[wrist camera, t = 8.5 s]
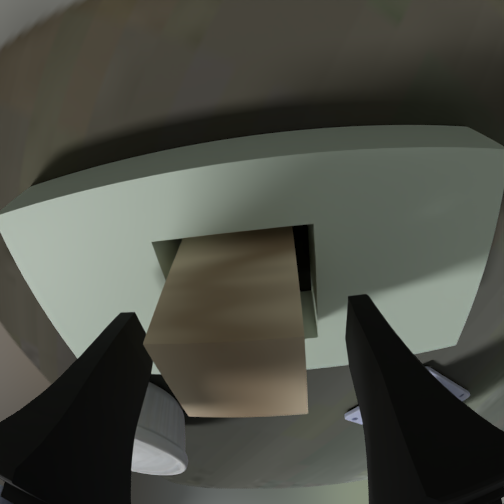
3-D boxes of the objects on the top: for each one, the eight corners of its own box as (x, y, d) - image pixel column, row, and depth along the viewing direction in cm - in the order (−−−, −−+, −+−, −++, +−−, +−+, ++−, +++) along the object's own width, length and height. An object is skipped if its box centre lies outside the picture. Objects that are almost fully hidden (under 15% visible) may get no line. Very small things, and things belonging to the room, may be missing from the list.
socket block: (467, 126, 10) (509, 149, 8) (436, 305, 16) (455, 345, 13) (29, 186, 13) (-7, 216, 10) (102, 332, 18) (86, 369, 16)
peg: (288, 201, 13) (304, 336, 7) (296, 278, 15) (307, 413, 9) (193, 213, 13) (142, 344, 8) (213, 286, 16) (188, 416, 10)
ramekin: (197, 435, 27) (189, 484, 22) (89, 411, 26) (74, 455, 22) (194, 374, 20) (181, 444, 16) (51, 343, 20) (23, 398, 16)
